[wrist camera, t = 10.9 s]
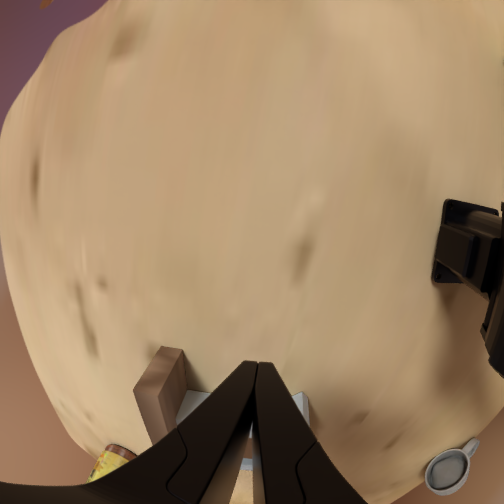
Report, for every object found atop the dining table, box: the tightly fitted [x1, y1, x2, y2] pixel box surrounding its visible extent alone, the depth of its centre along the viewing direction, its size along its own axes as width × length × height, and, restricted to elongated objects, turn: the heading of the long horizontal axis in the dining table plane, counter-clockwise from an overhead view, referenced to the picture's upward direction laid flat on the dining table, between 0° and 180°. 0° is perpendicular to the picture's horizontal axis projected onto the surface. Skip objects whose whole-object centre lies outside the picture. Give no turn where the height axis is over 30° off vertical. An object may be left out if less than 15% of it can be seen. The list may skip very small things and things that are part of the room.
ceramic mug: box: [425, 438, 480, 495], centre depth 22 cm, size 11×8×8 cm
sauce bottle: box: [86, 444, 136, 483], centre depth 21 cm, size 6×6×20 cm
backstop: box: [133, 346, 188, 445], centre depth 22 cm, size 2×18×6 cm, turn 178°
